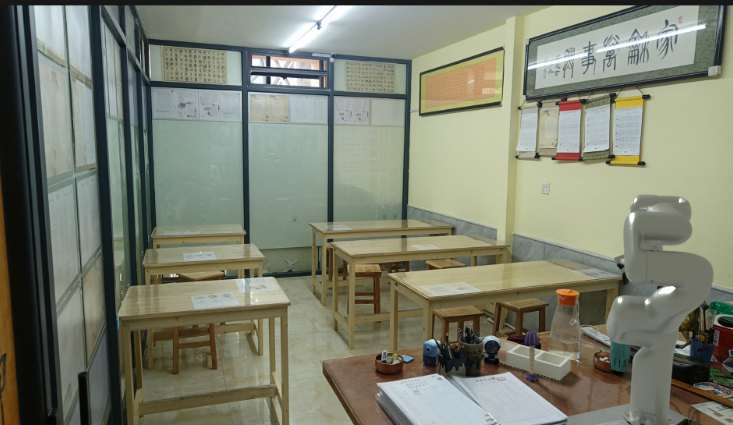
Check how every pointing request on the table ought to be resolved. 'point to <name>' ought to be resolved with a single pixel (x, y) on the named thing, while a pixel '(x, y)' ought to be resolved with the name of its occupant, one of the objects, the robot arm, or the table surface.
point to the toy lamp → (531, 354)
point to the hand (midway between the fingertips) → (642, 286)
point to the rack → (544, 361)
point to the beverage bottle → (619, 356)
